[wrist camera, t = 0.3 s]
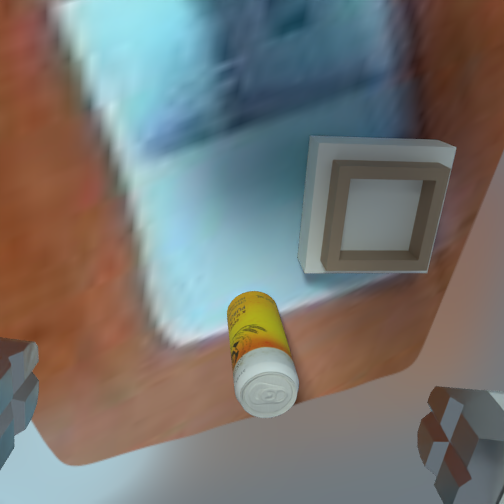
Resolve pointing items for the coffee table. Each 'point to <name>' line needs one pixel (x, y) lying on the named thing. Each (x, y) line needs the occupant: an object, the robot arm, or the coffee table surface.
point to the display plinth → (372, 204)
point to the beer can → (260, 356)
